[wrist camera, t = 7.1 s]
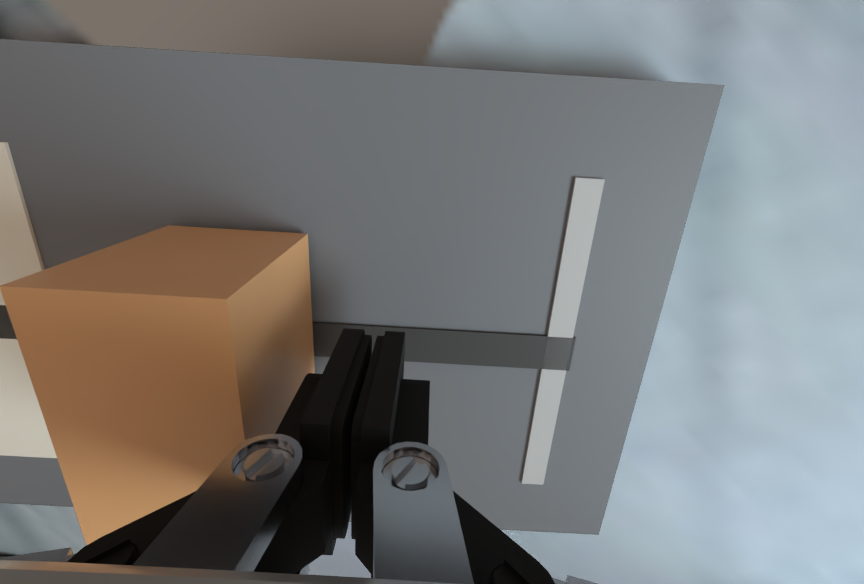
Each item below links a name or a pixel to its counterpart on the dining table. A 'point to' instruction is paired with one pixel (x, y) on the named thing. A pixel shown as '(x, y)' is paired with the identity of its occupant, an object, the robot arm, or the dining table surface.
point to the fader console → (381, 233)
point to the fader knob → (163, 359)
